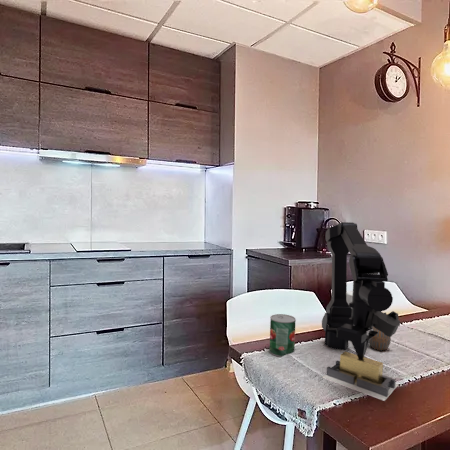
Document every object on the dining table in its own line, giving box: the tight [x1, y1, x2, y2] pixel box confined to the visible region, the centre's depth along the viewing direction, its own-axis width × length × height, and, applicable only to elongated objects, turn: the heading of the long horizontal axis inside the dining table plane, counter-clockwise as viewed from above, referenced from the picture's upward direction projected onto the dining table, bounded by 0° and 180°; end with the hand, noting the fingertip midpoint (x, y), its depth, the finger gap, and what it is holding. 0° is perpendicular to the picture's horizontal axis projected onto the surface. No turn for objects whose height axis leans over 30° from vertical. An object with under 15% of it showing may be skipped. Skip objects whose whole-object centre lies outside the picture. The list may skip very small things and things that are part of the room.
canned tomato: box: [268, 313, 297, 358], centre depth 113 cm, size 8×8×11 cm
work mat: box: [321, 374, 400, 402], centre depth 94 cm, size 16×11×1 cm
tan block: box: [339, 350, 384, 385], centre depth 94 cm, size 10×3×6 cm, turn 48°
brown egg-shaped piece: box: [369, 327, 392, 351], centre depth 119 cm, size 7×7×9 cm
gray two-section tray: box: [325, 360, 397, 397], centre depth 94 cm, size 16×6×2 cm, turn 48°
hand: (360, 358), depth 94 cm, fingers closed, pressing on tan block
